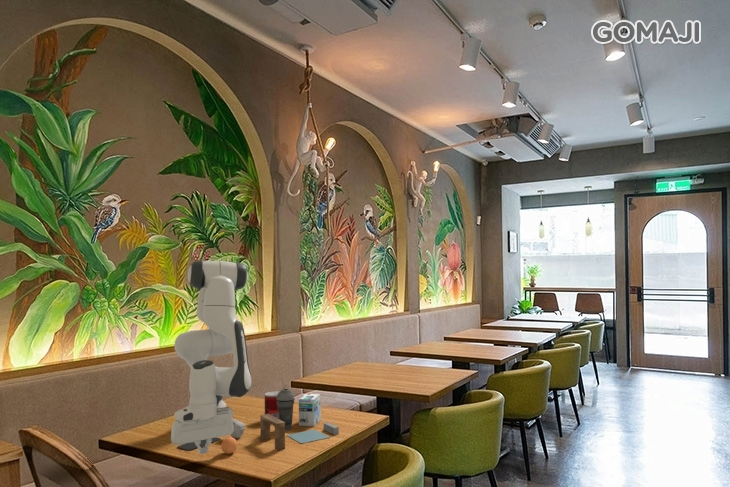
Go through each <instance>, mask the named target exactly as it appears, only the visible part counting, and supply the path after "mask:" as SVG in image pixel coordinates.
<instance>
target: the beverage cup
mask: <svg viewBox="0 0 730 487" xmlns="http://www.w3.org/2000/svg"><path fill="white" fill-rule="evenodd" d="M281 382H282V389H281V390H279V391H280V392H279V393H278V395H277V399H276V401H277V406H278V416H279V420H281V421H283V422H285V432H286V431H290V430H292V425H293V416H294V404H295V395H294V393H293V391H292V390H290V389H288V388H285V383H284V377H282V378H281Z"/></svg>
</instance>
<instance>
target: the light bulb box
mask: <svg viewBox="0 0 730 487" xmlns="http://www.w3.org/2000/svg"><path fill="white" fill-rule="evenodd" d="M321 396H322V395H321V393H305V394H303V395H302V396H301V397H300V398H298V425H299V426H298V427H300V426H301V427H315V426H317V424H319V422H320V421H321V420H322V414H321V413H322V410H321V409H322V406H321V405H322V403H321V400H322V399H321Z"/></svg>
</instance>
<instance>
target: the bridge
mask: <svg viewBox="0 0 730 487" xmlns="http://www.w3.org/2000/svg"><path fill="white" fill-rule="evenodd" d="M259 421H260V425H259V426H260V428H259V429H260V430H259V431H260V441H262V442H267V441H270V440H271V425H272V426H273V427H274V450H275V451H282V450H285V449H286V431H285V422H283V421H281V420H279V419H277V418H275V417H273V416H271V415H270V414H265V413H264V414H260V420H259Z"/></svg>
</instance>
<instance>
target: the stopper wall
mask: <svg viewBox="0 0 730 487" xmlns="http://www.w3.org/2000/svg"><path fill="white" fill-rule="evenodd" d="M339 430H340V429H339V426H337V425H335V424H332V423H330V422H324V423H323V431H325V432H327V433H329V434H332V435H334V436H335V435H339V432H340V431H339Z"/></svg>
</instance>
